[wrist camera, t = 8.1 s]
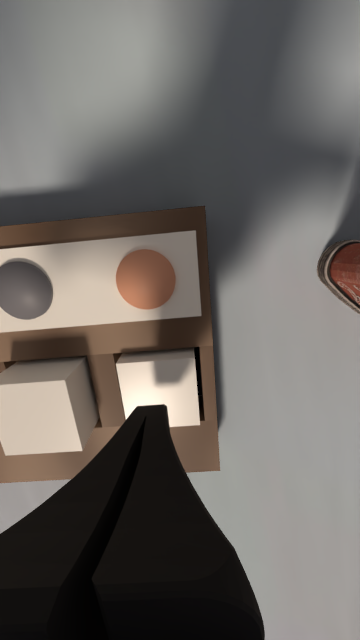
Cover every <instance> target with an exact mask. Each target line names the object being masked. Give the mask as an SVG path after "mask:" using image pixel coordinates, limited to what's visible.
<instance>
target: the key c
mask: <svg viewBox="0 0 360 640" xmlns="http://www.w3.org/2000/svg"><path fill="white" fill-rule="evenodd" d="M116 368H117V373H118V379H119V384H120V390H121V396H122V401H123V407H124V412H125V418H126V419H127V418H128V417H129V415H130V414H131V413H132V411H133V410H134V409H135V408H136V407H137V406H145V405H159V404H165V405H166V406H167V410H168V418H169V426H170V427H178V426H193V425H200V417H199V404H198V392H197V379H196V367H195V355H194V347H188V348H175V349H162V350H149V351H136V352H124V353H122V354H121V356H120V358H119V359H118V361H117V363H116Z"/></svg>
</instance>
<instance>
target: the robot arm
mask: <svg viewBox="0 0 360 640" xmlns="http://www.w3.org/2000/svg"><path fill="white" fill-rule="evenodd" d="M264 637H265V632H264V625H263V620H262V616H261V613H260V610H259V606H258V603H257V600H256V598H255V595H254V592H253V590H252V587H251V585H250V582H249V580H248V578H247V575H246V573H245V571H244V569H243V566H242V564H241V562H240V560H239V558H238V556H237V553H236V551H235V549H234V547H233V546H232V545H231V543H230V542H229V541H228V539H227V538H226V537H225V535H224V534H223V532H222V531H221V530H220V528H219V527H218V526H217V524H216V523H215V521H214V520H213V518H212V517H211V515H210V514H209V512H208V511H207V509H206V508H205V506H204V504H203V503H202V501H201V499H200V498H199V496H198V494H197V492H196V491H195V489H194V487H193V486H192V484H191V482H190V480H189V478H188V476H187V474H186V472H185V470H184V468H183V466H182V464H181V461H180V459H179V457H178V454H177V452H176V449H175V446H174V443H173V441H172V437H171V434H170V426H169V418H168V410H167V406H166V405H165V404H159V405H145V406H137V407H136V408H135V409H134V410H133V411H132V413H131V414H130V415H129V417H128V418H127V419H126V421H125V422H124V423H123V424H122V426H121V427H120V428H119V429H118V431H117V432H116V433H115V434H114V436H113V437H112V438H111V439H110V440H109V442H108V443H107V444H106V445H105V446H104V447H103V448H102V449H101V450H100V452H99V453H98V454H97V455H96V456H95V457H94V458H93V459H92V460H91V461H90V462H89V463H88V464H87V465H86V466H85V467H84V468H83V469H82V470H81V471H80V472H79V473H78V474H77V475H76V476H75V477H74V478H72V479H71V480H70V481H69V482H68V483H67V484H66V485H64V486H63V487H62V488H61V489H59V490H58V491H57V492H56V493H55V494H53V495H52V496H51V497H50V498H49V499H47V500H46V501H45V502H44V503H42V504H41V505H40V506H39V507H37V508H36V509H35V510H33V511H32V512H31V513H29V514H28V515H27V516H25V517H24V518H22V519H21V520H20V521H18V522H17V523H15V524H14V525H13V526H11V527H10V528H8V529H7V530H5V531H4V532H3V533H1V534H0V640H264Z"/></svg>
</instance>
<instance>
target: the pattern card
mask: <svg viewBox="0 0 360 640" xmlns="http://www.w3.org/2000/svg"><path fill="white" fill-rule="evenodd" d="M195 316H201V302H200V287H199V272H198V258H197V243H196V230H194V231H184V232H173V233H163V234H153V235H143V236H132V237H122V238H112V239H101V240H91V241H81V242H71V243H60V244H50V245H40V246H29V247H19V248H9V249H0V333H2V332H14V331H26V330H38V329H50V328H63V327H75V326H87V325H99V324H111V323H123V322H135V321H147V320H159V319H171V318H183V317H195Z"/></svg>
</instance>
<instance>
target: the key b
mask: <svg viewBox="0 0 360 640" xmlns="http://www.w3.org/2000/svg"><path fill="white" fill-rule="evenodd" d="M99 417H100V414H99V409H98V405H97V400H96V395H95V391H94V386H93V381H92V377H91V372H90V367H89V363H88V358H87V355H85V356H72V357H59V358H46V359H34V360H21V361H18V362H16V363H15V364H13V365H12V366H10V367H9V368H7V369H6V370H4V371H3V372H1V373H0V442H1V444H2V447H3V450H4V453H5V456H8V455H24V454H41V453H57V452H73V451H83V449H84V447H85V445H86V443H87V441H88V439H89V437H90V435H91V433H92V431H93V429H94V427H95V425H96V423H97V421H98V419H99Z"/></svg>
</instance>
